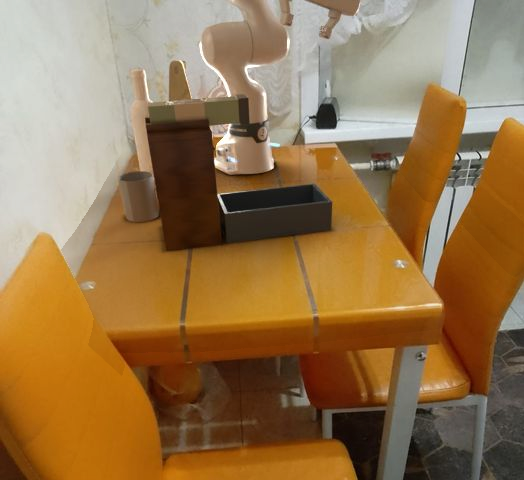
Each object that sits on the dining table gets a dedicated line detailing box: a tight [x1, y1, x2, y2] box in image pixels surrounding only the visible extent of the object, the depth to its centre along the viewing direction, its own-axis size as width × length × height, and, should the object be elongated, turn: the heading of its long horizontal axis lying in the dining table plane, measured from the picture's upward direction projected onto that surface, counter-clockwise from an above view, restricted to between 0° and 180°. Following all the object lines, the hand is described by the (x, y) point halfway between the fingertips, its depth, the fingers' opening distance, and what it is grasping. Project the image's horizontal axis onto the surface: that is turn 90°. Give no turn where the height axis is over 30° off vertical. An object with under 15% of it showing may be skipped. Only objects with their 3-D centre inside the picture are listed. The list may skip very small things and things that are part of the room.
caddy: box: [168, 59, 192, 101], centre depth 163 cm, size 29×11×30 cm, turn 178°
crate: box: [217, 182, 333, 244], centre depth 115 cm, size 25×14×7 cm, turn 102°
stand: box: [145, 117, 223, 252], centre depth 107 cm, size 12×14×25 cm
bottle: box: [129, 68, 156, 190], centre depth 137 cm, size 8×8×30 cm
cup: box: [117, 170, 160, 223], centre depth 123 cm, size 8×8×10 cm
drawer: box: [147, 94, 250, 127], centre depth 100 cm, size 20×5×5 cm, turn 102°
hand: (305, 31), depth 91 cm, fingers open, 8 cm apart
